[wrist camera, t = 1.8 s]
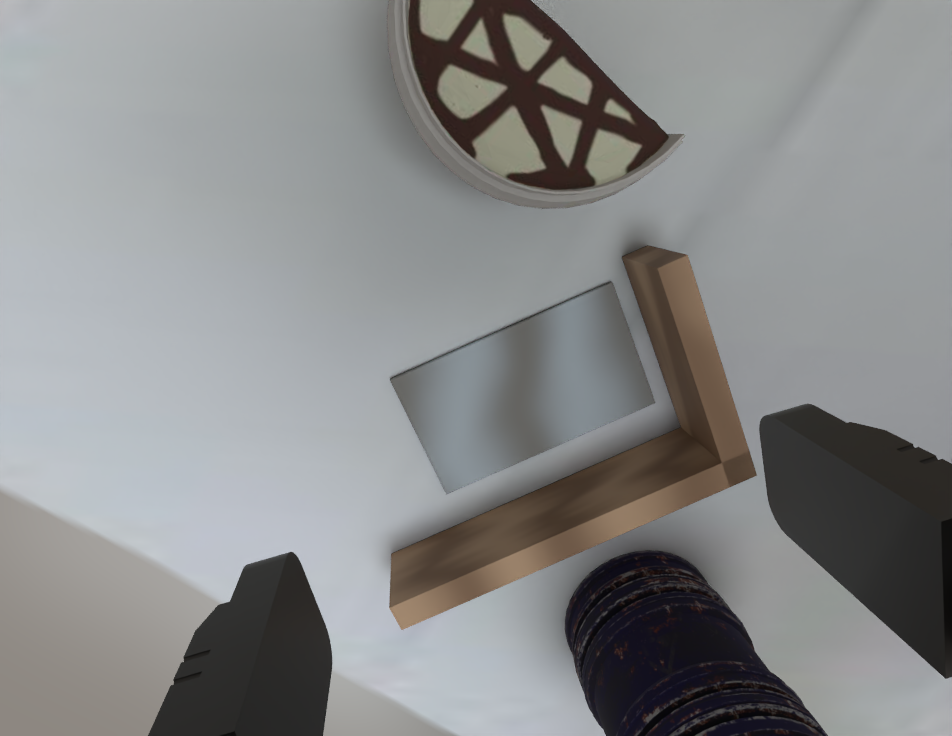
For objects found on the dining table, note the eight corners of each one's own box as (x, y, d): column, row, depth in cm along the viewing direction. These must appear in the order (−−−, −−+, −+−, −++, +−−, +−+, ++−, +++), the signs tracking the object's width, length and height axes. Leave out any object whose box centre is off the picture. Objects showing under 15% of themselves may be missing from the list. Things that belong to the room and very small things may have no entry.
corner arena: (647, 245, 34) (687, 255, 29) (711, 438, 37) (756, 475, 32) (306, 396, 34) (289, 430, 29) (402, 573, 38) (401, 629, 33)
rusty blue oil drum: (627, 706, 42) (742, 973, 28) (530, 623, 40) (602, 869, 25) (742, 611, 41) (923, 838, 27) (651, 518, 38) (796, 715, 24)
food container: (338, 90, 30) (307, 44, 21) (418, -21, 29) (424, -123, 20) (532, 253, 33) (584, 279, 24) (609, 157, 32) (695, 145, 23)
